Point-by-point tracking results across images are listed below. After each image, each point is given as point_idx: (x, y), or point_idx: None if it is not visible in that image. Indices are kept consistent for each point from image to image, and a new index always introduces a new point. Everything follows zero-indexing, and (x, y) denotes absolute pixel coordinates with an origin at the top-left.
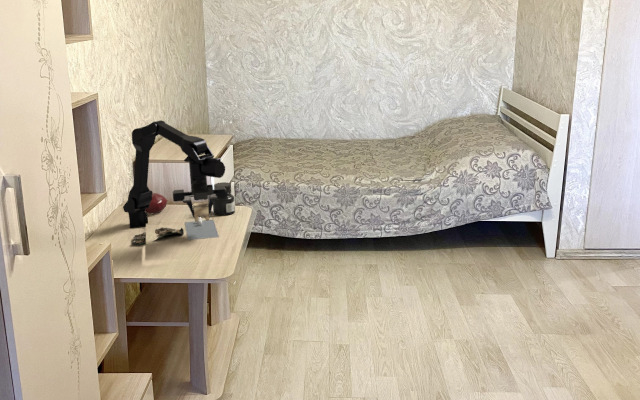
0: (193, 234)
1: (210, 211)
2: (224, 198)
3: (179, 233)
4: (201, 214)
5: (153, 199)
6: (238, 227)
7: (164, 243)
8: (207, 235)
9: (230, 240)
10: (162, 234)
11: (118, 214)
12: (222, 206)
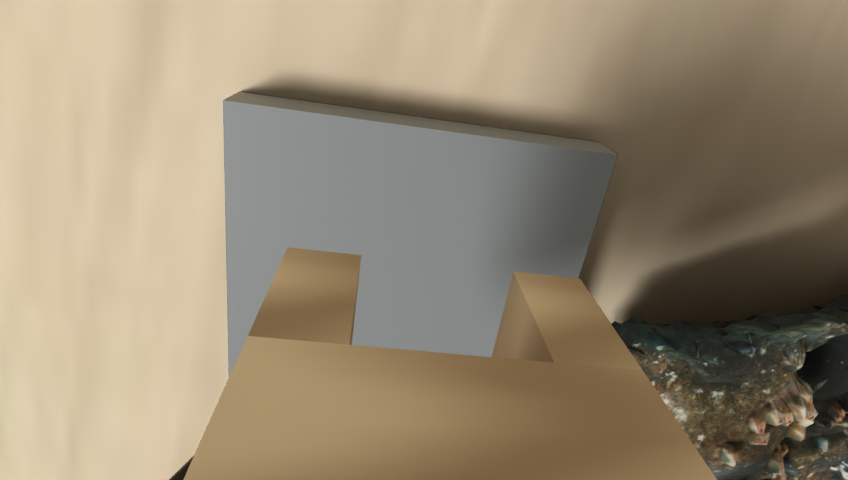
0: (498, 307)
1: (181, 473)
2: None
3: (660, 327)
4: (461, 358)
5: None
6: (8, 406)
7: (786, 260)
8: (359, 214)
9: (91, 42)
10: (798, 380)
11: None
12: None
